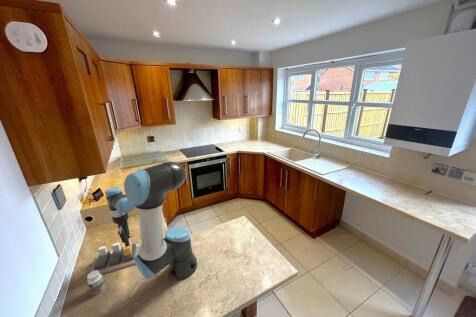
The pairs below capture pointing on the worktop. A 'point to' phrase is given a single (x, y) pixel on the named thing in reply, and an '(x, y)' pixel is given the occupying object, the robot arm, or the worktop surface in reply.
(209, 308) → the worktop surface
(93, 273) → the pill bottle
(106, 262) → the panel
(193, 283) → the worktop surface
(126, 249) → the block
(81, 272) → the worktop surface
